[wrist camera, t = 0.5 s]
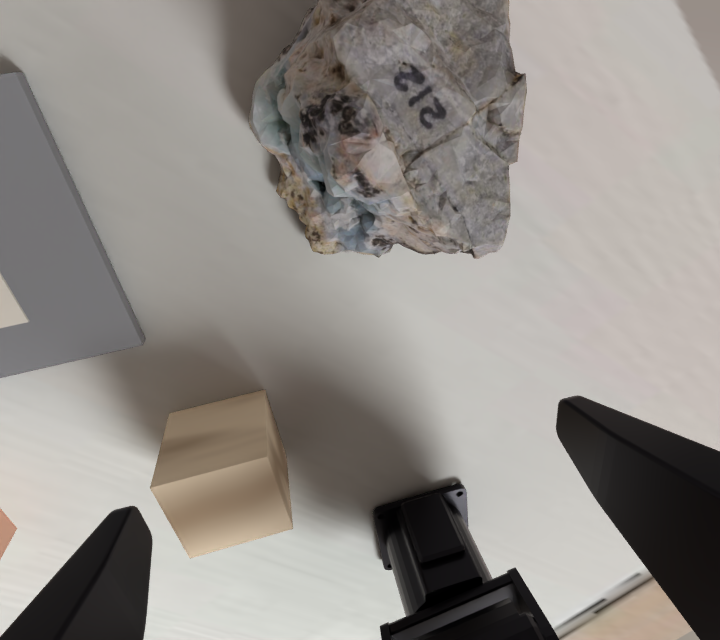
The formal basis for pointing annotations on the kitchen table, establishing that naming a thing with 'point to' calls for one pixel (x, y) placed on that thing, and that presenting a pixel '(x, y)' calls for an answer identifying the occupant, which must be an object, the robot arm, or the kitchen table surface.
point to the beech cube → (223, 474)
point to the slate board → (50, 252)
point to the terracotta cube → (5, 532)
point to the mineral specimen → (396, 125)
